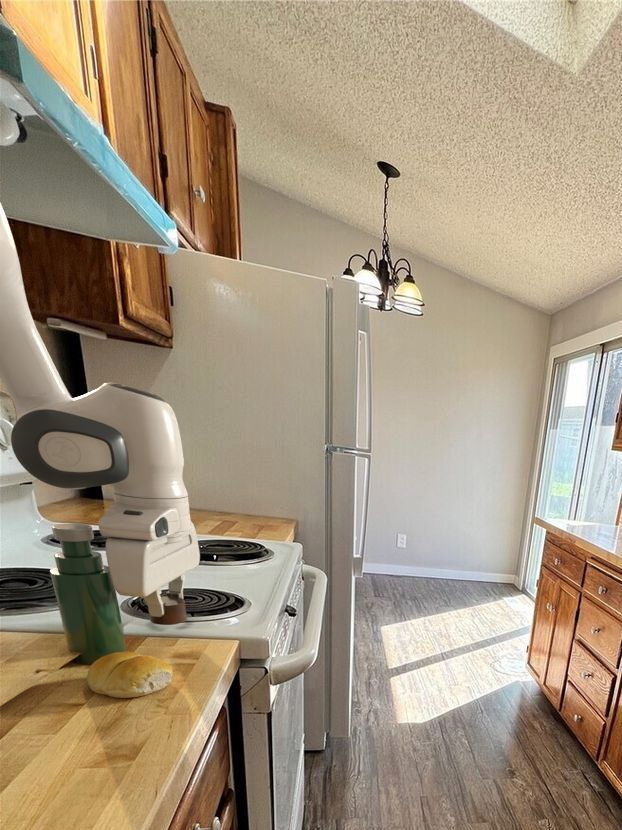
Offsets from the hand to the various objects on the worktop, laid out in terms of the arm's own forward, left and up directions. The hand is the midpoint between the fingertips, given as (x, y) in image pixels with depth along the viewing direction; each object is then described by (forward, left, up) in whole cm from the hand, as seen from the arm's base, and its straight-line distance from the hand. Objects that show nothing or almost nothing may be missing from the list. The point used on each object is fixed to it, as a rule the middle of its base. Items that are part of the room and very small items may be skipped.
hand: (167, 608), depth 84 cm
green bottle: (-5, -9, -4) cm, 12 cm away
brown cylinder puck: (0, 0, -2) cm, 2 cm away
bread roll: (+3, -18, -4) cm, 19 cm away
